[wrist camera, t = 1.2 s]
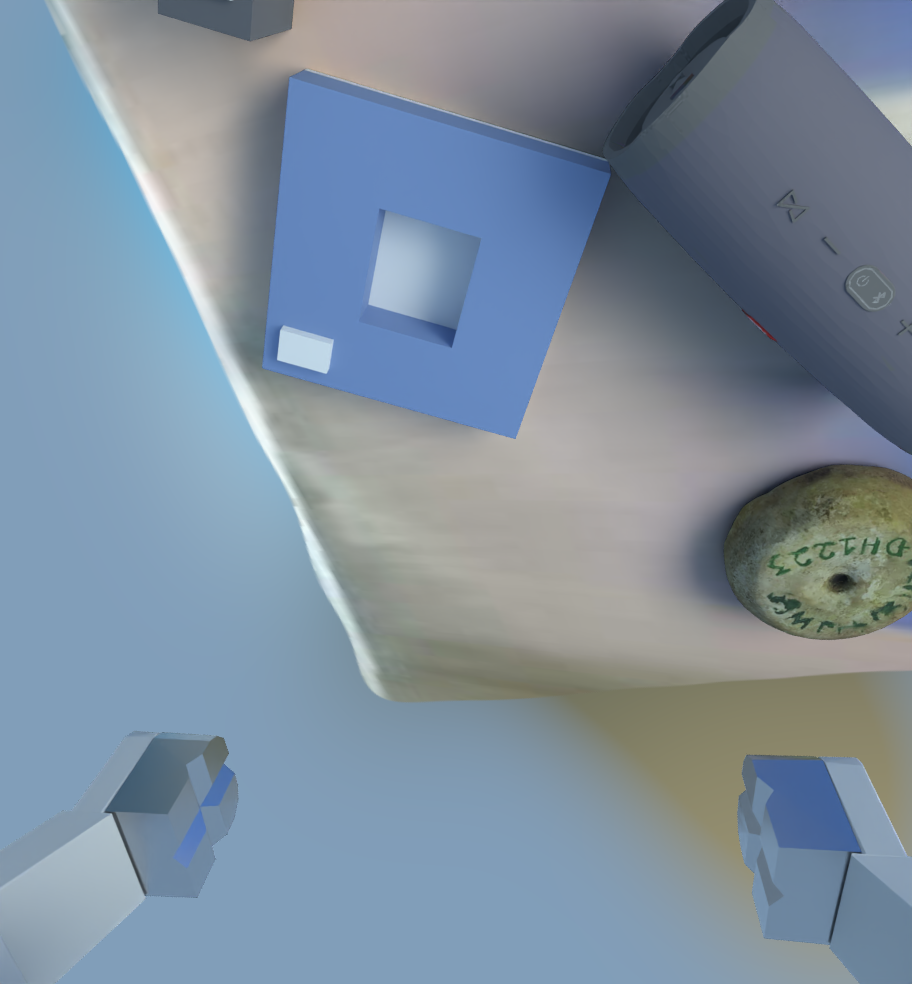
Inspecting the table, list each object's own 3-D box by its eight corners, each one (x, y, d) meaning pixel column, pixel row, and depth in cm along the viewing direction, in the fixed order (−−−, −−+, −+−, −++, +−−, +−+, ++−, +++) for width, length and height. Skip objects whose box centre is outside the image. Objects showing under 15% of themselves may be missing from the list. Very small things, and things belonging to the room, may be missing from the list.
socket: (307, 68, 37) (285, 78, 34) (608, 159, 38) (611, 177, 35) (277, 346, 47) (259, 372, 44) (517, 414, 48) (514, 444, 45)
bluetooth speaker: (588, 140, 38) (594, 193, 30) (738, -33, 33) (794, -26, 25) (857, 404, 44) (920, 504, 36) (1014, 293, 40) (1127, 381, 32)
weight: (703, 597, 55) (713, 648, 51) (745, 449, 47) (761, 496, 43) (891, 613, 54) (916, 666, 50) (967, 464, 46) (1004, 513, 42)
